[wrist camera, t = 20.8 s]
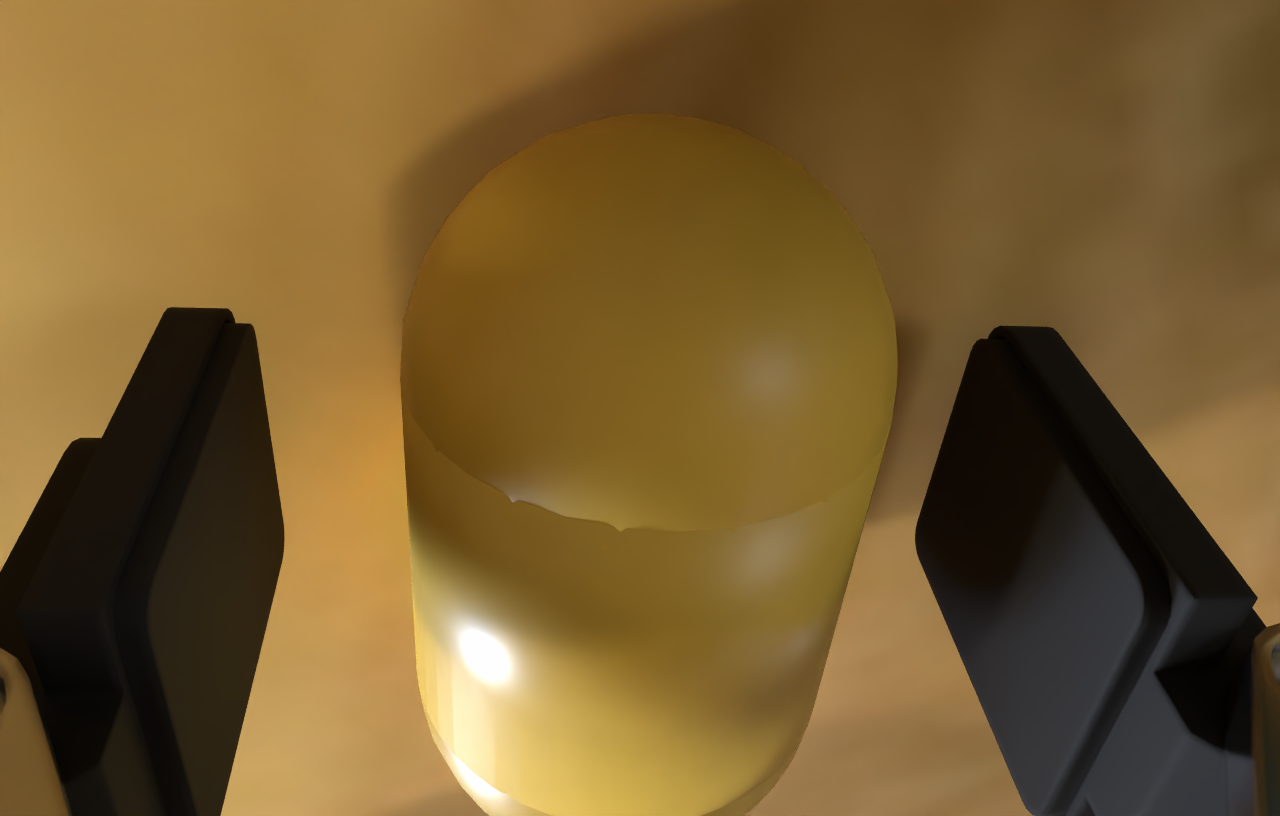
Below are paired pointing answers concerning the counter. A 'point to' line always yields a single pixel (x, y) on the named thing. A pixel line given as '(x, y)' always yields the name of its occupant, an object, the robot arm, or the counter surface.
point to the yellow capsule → (637, 466)
